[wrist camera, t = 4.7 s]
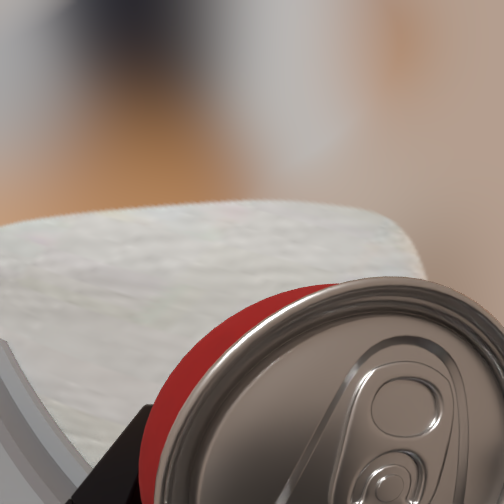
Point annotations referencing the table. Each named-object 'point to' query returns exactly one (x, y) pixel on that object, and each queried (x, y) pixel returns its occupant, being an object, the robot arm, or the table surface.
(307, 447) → the soda can
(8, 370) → the square gray tray
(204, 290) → the table surface
